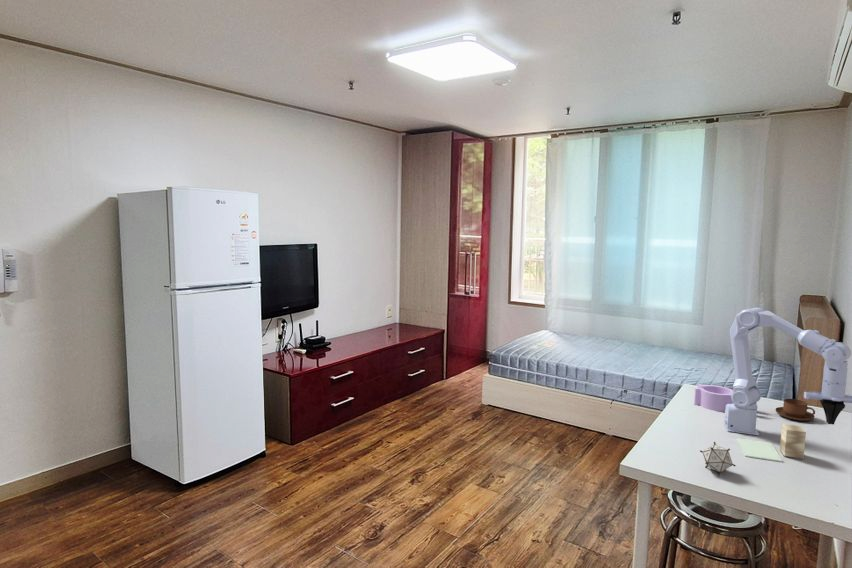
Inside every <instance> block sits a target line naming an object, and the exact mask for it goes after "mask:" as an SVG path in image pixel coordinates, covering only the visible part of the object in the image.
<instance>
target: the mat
mask: <svg viewBox="0 0 852 568" xmlns="http://www.w3.org/2000/svg"><path fill="white" fill-rule="evenodd" d="M735 439H736V441H737V444H738V446H739V448H740V450H741V451H742V454H743V455H744V457H747V458H751V459H753V458H754V459H758V460H765V461H773V462H780V463H783V462H784V461H783V459H782V458H781V456H780V454H779V453H778V452H777V450H776V448H775V447H774V445H773V443H772V442H768V441H767V442H766V441H760V440H759V441H758V440H752V439H746V438H739V437H738V438H737V437H736V438H735Z"/></svg>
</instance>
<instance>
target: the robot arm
mask: <svg viewBox="0 0 852 568" xmlns="http://www.w3.org/2000/svg"><path fill="white" fill-rule="evenodd" d="M758 327H759V328H763V327H765V328H767V327H771V328H774V329H776V330H778V331H780V332H783V333H785V334H786V335H789V336H791V337H793V338H795V339H797V341H798V345H800V346H802V347H804V348H806V349H808V350H810V351H812V352H813V353H816V354H818V355H819V356H822V358H823V360H824V365H823V372H822V385H821V391H804V392H803V398H804V399H805V400H819V402H820V404H821V406H822V409H823V411H824V415H825V419H826V420H825V421H826V423H827V424H828V425H833V426H834V425H835V423H836V421H837V418H838V416H839V415H840V413H841V412H842V411H843V410H844V409H845V407H846V404H845V403H847V404H852V395H850V394H849V395H848V394H846V388H847V377H848V363H849V362H848V360H849V359H850V357H851V356H852V350H851V349H850V347H849V346H848V345H847V344H846V343H844V342H841V341H839V342H836V339H834V338H831V339H830V338H829V337H826V336H824V335H823V334H821V333H820V331H819V330H816V329H814V330H812V329H806V330H803V329H802V328H800V327H798V326H797V325H794V324H793V323H791V322H789V321H788V320H786V319H784V318H782V317H780V316H778V315H777V314H775V313H773V312H772V311H769V310H765V308H762V307H759V306H756V307H752V308H748V309H743V310H741V311H740V312H739V313H737V314H736V315H735V317H734V320H733V322H732V325H731V326H730V329H729V337H730V345H731V346H730V347H731V353H732V354H731V355H732V360H733V368H734V369H733V370H734V376H735V377H734V378H735V380H734V382H733V385H732V390H733V393H732V395H731V399H732V401H733V404H726V408H725V412H724V422H723V424H724V426H725V428H726V430H727V432H730V433H738V434H745V435H755V436H760V433H759V432H758V430H757V429H756V428H757V427H756V426H757V418H758V417H757V415H758V402H759V401H760V400H761V397H762V393H761V391H760V389H759V388H758V385H757V382H756V380H755V379H754V376H753V375H754V374H753V369H752V368H753V367H752V361H751V359H752V358H751V353H750V352H751V351H750V345H749V343H750V342H749V337H748V336H749V334H750V333H751V332H752V331H754V329H756V328H758Z"/></svg>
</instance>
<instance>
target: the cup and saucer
mask: <svg viewBox="0 0 852 568" xmlns="http://www.w3.org/2000/svg"><path fill="white" fill-rule="evenodd" d="M808 410H811V411H812V413H811V412H810V411H808ZM775 412H776V413H777V414H778V415H780V416H781V417H783V418H786V419H789V420H792V421H800V422H807V421H812V420H813V419H814V418H815V414H816V410H815V409H814V408H812V407H809V405H808V402H806V401H803V400H800V399H795V398H784V399H783V406H778V407H776V408H775Z"/></svg>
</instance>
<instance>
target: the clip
mask: <svg viewBox="0 0 852 568" xmlns="http://www.w3.org/2000/svg"><path fill="white" fill-rule="evenodd" d="M732 393H733V389H731V388H729V387H725V386H721V385H714V384H713V385H712V384H701V383H698V384H697V387H695V388H694V395H693V405H694V406H700V407H702V408H703V409H706V410H710V411H714V412H722V413H723V412H724V413H725V408H726V404H733V401H732V399H731V395H732Z"/></svg>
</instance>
